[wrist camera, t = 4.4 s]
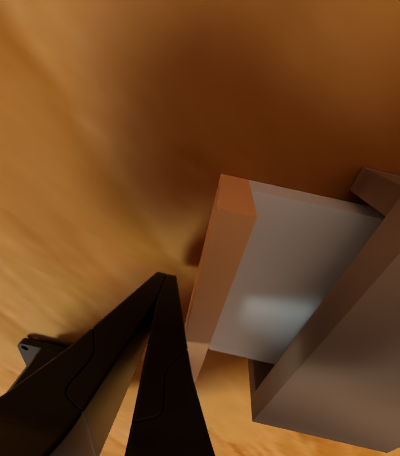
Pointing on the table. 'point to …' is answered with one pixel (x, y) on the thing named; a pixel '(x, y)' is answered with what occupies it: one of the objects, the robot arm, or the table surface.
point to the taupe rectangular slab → (346, 345)
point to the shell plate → (268, 267)
